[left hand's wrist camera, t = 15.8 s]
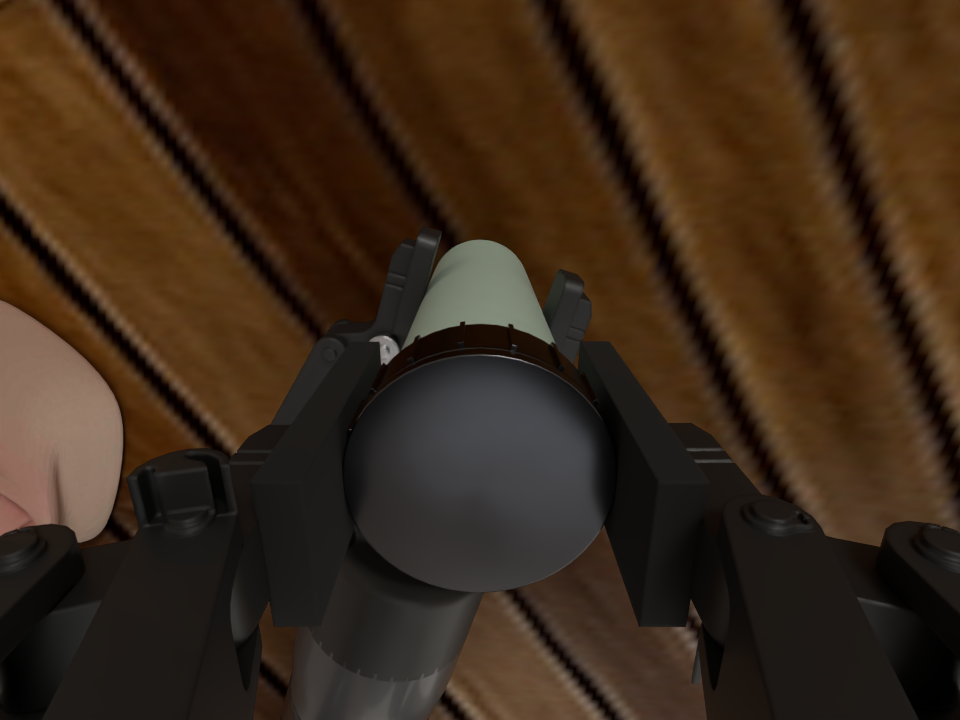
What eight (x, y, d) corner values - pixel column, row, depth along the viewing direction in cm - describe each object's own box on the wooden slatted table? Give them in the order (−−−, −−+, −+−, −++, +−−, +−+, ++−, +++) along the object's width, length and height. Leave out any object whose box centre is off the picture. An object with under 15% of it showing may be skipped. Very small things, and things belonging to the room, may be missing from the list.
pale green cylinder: (414, 305, 26) (325, 499, 11) (462, 220, 25) (434, 312, 10) (496, 350, 27) (516, 590, 12) (546, 271, 26) (642, 429, 11)
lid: (478, 572, 13) (478, 637, 11) (309, 434, 12) (278, 482, 10) (648, 437, 12) (679, 486, 10) (480, 265, 11) (480, 287, 9)
